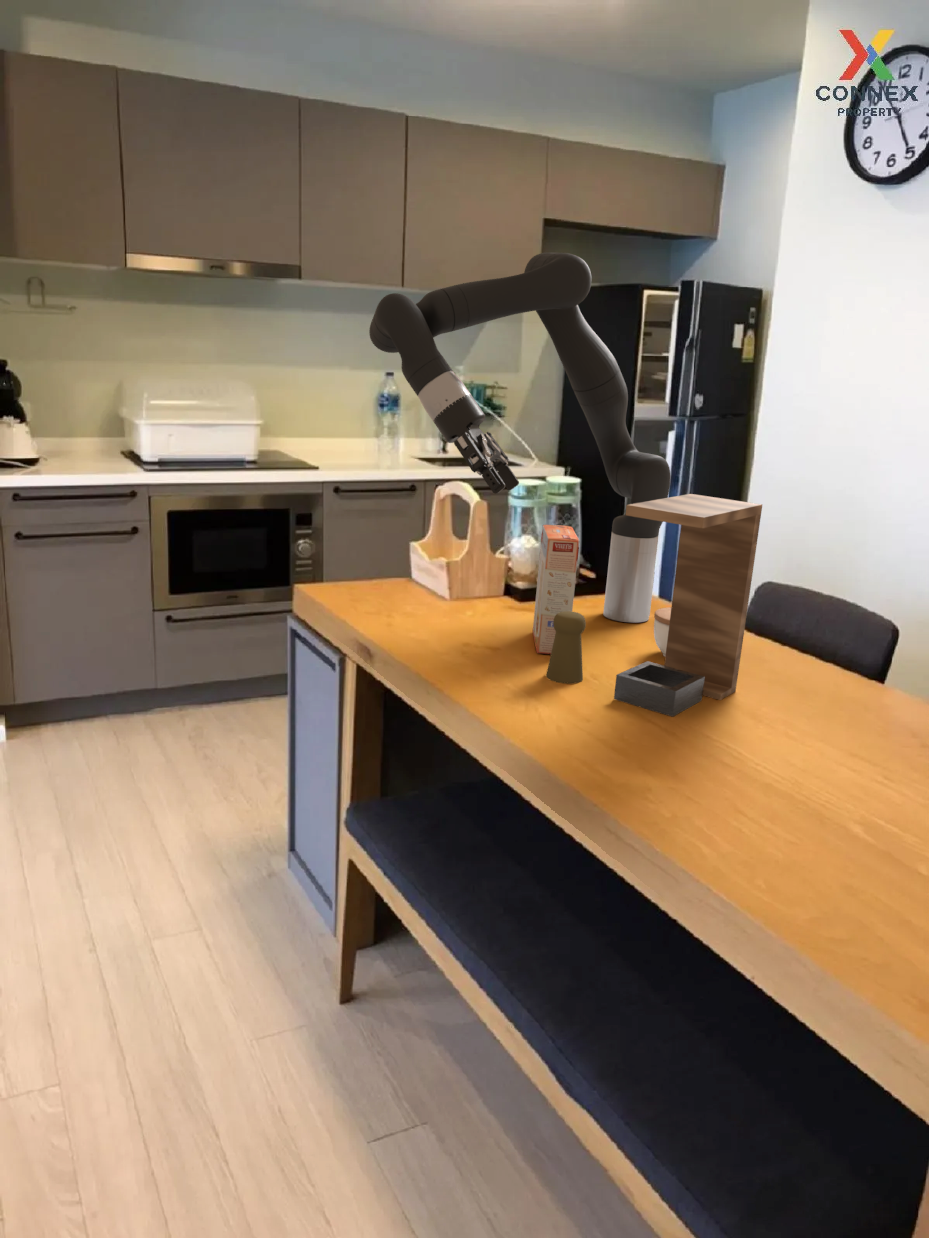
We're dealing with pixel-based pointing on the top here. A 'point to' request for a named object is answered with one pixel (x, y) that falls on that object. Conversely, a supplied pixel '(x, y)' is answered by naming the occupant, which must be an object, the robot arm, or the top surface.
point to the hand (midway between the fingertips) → (507, 488)
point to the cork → (567, 648)
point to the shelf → (708, 584)
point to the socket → (659, 688)
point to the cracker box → (554, 581)
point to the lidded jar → (662, 628)
